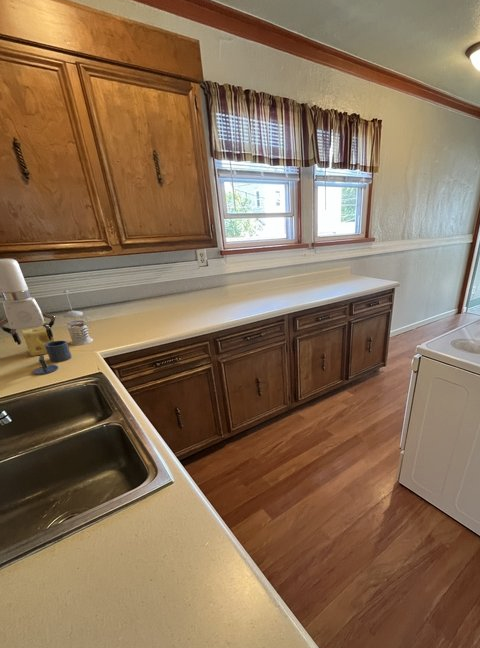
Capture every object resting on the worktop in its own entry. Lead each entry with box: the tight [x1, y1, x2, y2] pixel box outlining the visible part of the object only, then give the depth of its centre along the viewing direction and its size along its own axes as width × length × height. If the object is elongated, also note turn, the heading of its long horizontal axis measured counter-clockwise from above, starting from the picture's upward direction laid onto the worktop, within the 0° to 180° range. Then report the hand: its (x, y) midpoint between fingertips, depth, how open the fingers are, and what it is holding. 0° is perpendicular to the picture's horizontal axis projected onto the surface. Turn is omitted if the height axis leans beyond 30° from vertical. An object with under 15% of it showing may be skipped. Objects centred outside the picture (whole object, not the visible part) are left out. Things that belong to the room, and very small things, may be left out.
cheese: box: [21, 326, 56, 357], centre depth 148 cm, size 10×11×10 cm
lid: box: [32, 354, 59, 376], centre depth 129 cm, size 8×8×6 cm
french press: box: [62, 289, 94, 346], centre depth 156 cm, size 10×12×25 cm
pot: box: [45, 340, 73, 363], centre depth 139 cm, size 8×8×8 cm
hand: (35, 341), depth 124 cm, fingers open, 9 cm apart
